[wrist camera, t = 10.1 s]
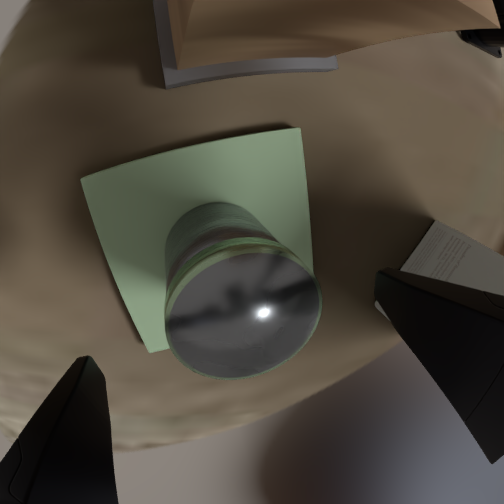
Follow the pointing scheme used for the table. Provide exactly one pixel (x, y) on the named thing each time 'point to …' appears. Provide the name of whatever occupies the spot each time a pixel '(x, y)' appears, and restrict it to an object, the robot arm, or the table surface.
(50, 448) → the robot arm
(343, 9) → the tan box
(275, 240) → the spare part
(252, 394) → the table surface
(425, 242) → the supplement box
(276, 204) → the sage mat
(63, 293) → the table surface
